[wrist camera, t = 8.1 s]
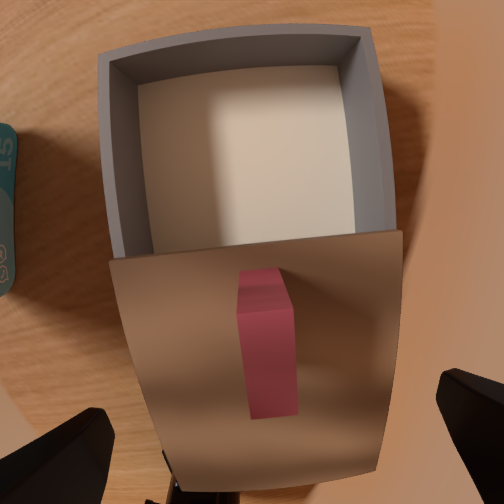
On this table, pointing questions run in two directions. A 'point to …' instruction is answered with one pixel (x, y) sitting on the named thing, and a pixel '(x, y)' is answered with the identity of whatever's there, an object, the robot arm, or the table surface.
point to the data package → (7, 206)
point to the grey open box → (244, 138)
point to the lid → (266, 356)
